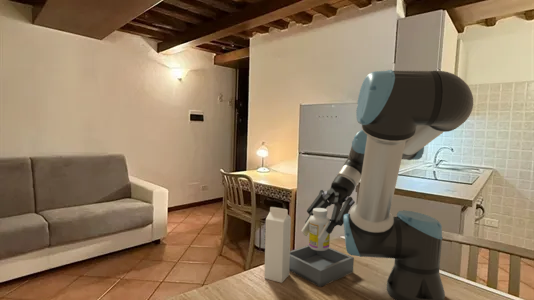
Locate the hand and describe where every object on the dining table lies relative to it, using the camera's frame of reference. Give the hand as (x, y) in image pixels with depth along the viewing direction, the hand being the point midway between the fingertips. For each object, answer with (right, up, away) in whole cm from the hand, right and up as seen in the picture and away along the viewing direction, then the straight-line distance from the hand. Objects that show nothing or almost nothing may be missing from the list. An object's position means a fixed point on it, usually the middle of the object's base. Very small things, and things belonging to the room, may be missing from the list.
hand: (311, 236), depth 105 cm
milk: (-11, -12, -3) cm, 17 cm away
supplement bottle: (+3, -5, +3) cm, 6 cm away
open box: (+2, -12, +3) cm, 12 cm away
